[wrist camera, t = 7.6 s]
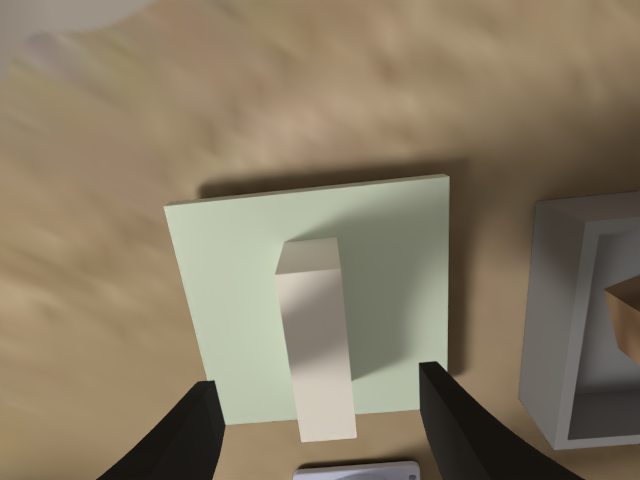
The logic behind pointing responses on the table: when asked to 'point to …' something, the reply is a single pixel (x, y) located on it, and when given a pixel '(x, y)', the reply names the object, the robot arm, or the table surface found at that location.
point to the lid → (317, 298)
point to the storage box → (580, 322)
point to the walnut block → (626, 315)
